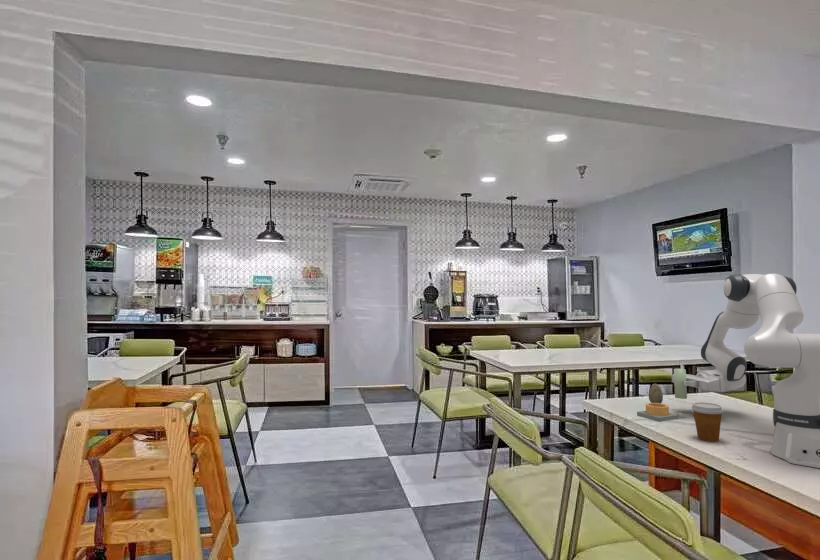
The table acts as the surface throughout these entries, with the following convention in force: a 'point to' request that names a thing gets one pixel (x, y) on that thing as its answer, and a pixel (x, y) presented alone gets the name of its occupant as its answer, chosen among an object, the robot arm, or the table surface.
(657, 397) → the decorative egg
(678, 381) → the pale green cylinder
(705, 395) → the table surface
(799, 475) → the table surface
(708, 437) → the disposable coffee cup
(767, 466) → the table surface
